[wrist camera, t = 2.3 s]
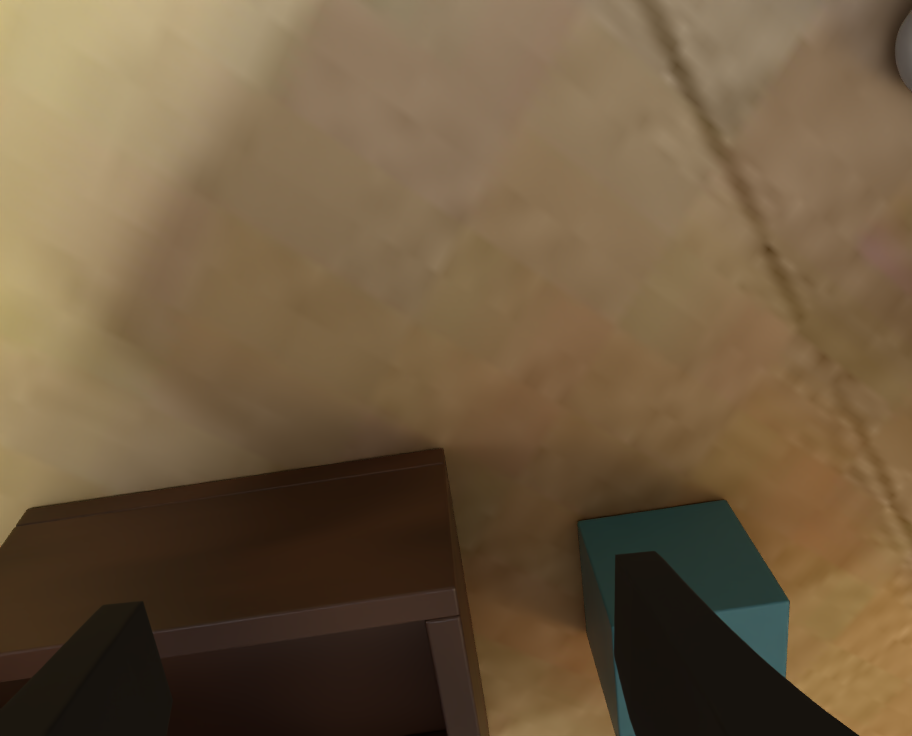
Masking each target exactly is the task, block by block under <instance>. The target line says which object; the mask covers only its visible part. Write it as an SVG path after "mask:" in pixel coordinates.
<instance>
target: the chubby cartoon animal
mask: <svg viewBox="0 0 912 736" xmlns="http://www.w3.org/2000/svg"><path fill="white" fill-rule="evenodd" d="M895 60H896V65H897V68H898V71H899V74H900V76H901V78H902V80H903V82H904V83H905V85H906V86H907V87H908V88H909V90H910V91H911V92H912V10H911V11H910V12H909V14H908V15H907V16H906V18H905V20H904V21H903V23H902V25H901V27H900V29H899V32H898V34H897V38H896V43H895Z"/></svg>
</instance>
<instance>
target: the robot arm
mask: <svg viewBox="0 0 912 736" xmlns="http://www.w3.org/2000/svg"><path fill="white" fill-rule="evenodd" d="M614 658H615V662H616V666H617V670H618V675H619V679H620V683H621V687H622V691H623V695H624V699H625V703H626V707H627V711H628V715H629V719H630V722H631V724H632V727H633V730H634V733H635V735H636V736H859V735H857V734H856V733H855V732H853V731H852V730H851V729H849V728H848V727H847V726H845V725H844V724H843V723H841V722H840V721H838V720H837V719H836V718H834V717H833V716H832V715H830V714H829V713H828V712H826V711H825V710H824V709H822V708H821V707H820V706H819V705H817V704H816V703H815V702H814V701H812V700H811V699H810V698H809V697H807V696H806V695H805V694H804V693H802V692H801V691H800V690H799V689H798V688H796V687H795V686H794V685H793V684H792V683H791V682H789V681H788V680H787V679H786V678H785V677H784V676H782V675H781V674H780V673H779V672H778V671H776V670H775V669H774V668H773V667H772V666H771V665H770V664H768V663H767V662H766V661H765V660H764V659H763V658H762V657H761V656H760V655H758V654H757V653H756V652H755V651H754V650H753V649H752V648H751V647H750V646H749V645H748V644H747V643H746V642H745V641H743V640H742V639H741V638H740V637H739V636H738V635H737V634H736V633H735V632H734V631H733V630H732V629H731V628H730V627H729V626H728V625H727V624H726V623H725V622H724V621H723V620H722V619H720V618H719V617H718V616H717V615H716V614H715V613H714V612H713V611H712V610H711V609H710V607H709V606H708V605H707V604H706V603H705V602H704V601H703V600H702V599H701V598H700V597H699V596H698V595H697V594H696V593H695V592H694V591H693V590H692V589H691V588H690V587H689V586H688V585H687V584H686V583H685V581H684V580H683V579H682V578H681V577H680V576H679V575H678V574H677V573H676V572H675V571H674V570H673V569H672V567H671V566H670V565H669V564H668V563H667V562H666V561H665V560H664V559H663V558H662V557H661V556H660V555H659V554H658V553H657V552H656V551H647V552H637V553H627V554H617V555H615V612H614ZM172 703H173V698H172V695H171V692H170V688H169V685H168V682H167V678H166V675H165V672H164V668H163V665H162V662H161V659H160V655H159V652H158V649H157V645H156V642H155V639H154V635H153V632H152V629H151V625H150V622H149V619H148V615H147V612H146V609H145V606H144V602H143V601H136V602H126V603H116V604H105V605H102V606H101V607H100V608H99V609H98V610H97V611H96V612H95V613H94V614H93V615H92V616H91V617H90V618H89V619H88V620H87V621H86V622H85V623H84V624H83V625H82V626H81V627H80V628H79V629H78V630H77V631H76V632H75V633H74V634H73V635H72V636H71V637H70V638H69V640H68V641H67V642H66V643H65V644H64V645H63V646H62V647H61V648H60V649H59V650H58V651H57V652H56V653H55V654H54V655H53V656H52V657H51V658H50V659H49V660H48V661H47V662H46V664H45V665H44V666H43V667H42V668H41V669H40V670H39V671H38V672H37V673H36V674H35V675H34V676H33V677H32V678H31V679H30V680H29V681H28V682H27V683H26V684H25V685H24V686H23V687H22V688H21V689H20V690H19V691H18V692H17V693H16V694H15V695H14V696H13V697H12V698H11V699H10V700H9V701H8V702H7V703H6V704H5V705H4V706H3V707H2V708H1V709H0V736H167V730H168V725H169V719H170V714H171V708H172Z"/></svg>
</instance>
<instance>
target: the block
mask: <svg viewBox="0 0 912 736" xmlns="http://www.w3.org/2000/svg"><path fill="white" fill-rule="evenodd" d="M577 526H578V537H579V549H580V561H581V573H582V584H583V596H584V608H585V620H586V631H587V637H588V640H589V644H590V647H591V651H592V654H593V658H594V661H595V665H596V668H597V672H598V675H599V679H600V682H601V686H602V689H603V693H604V696H605V700H606V703H607V707H608V710H609V714H610V717H611V721H612V724H613V728H614V731H615V735H616V736H636V735H635V733H634V730H633V727H632V724H631V722H630V719H629V715H628V711H627V707H626V703H625V699H624V695H623V691H622V687H621V683H620V679H619V675H618V670H617V666H616V662H615V658H614V612H615V555H617V554H627V553H637V552H647V551H656V552H657V553H658V554H659V555H660V556H661V557H662V558H663V559H664V560H665V561H666V562H667V563H668V564H669V565H670V566H671V567H672V569H673V570H674V571H675V572H676V573H677V574H678V575H679V576H680V577H681V578H682V579H683V580H684V581H685V583H686V584H687V585H688V586H689V587H690V588H691V589H692V590H693V591H694V592H695V593H696V594H697V595H698V596H699V597H700V598H701V599H702V600H703V601H704V602H705V603H706V604H707V605H708V606H709V607H710V609H711V610H712V611H713V612H714V613H715V614H716V615H717V616H718V617H719V618H720V619H722V620H723V621H724V622H725V623H726V624H727V625H728V626H729V627H730V628H731V629H732V630H733V631H734V632H735V633H736V634H737V635H738V636H739V637H740V638H741V639H742V640H743V641H745V642H746V643H747V644H748V645H749V646H750V647H751V648H752V649H753V650H754V651H755V652H756V653H757V654H758V655H760V656H761V657H762V658H763V659H764V660H765V661H766V662H767V663H768V664H770V665H771V666H772V667H773V668H774V669H775V670H776V671H778V672H779V673H780V674H781V675H782V676H784V677H785V678H786V661H787V643H788V624H789V605H790V601H789V599H788V598H787V596H786V595H785V593H784V591H783V590H782V588H781V587H780V585H779V584H778V582H777V580H776V579H775V577H774V576H773V574H772V572H771V571H770V569H769V568H768V566H767V564H766V563H765V561H764V560H763V558H762V557H761V555H760V553H759V552H758V550H757V549H756V547H755V545H754V544H753V542H752V541H751V539H750V537H749V536H748V534H747V533H746V531H745V530H744V528H743V526H742V525H741V523H740V522H739V520H738V518H737V517H736V515H735V514H734V512H733V510H732V509H731V507H730V506H729V504H728V503H727V501H726V500H719V501H712V502H705V503H699V504H692V505H685V506H678V507H671V508H665V509H658V510H651V511H644V512H637V513H631V514H624V515H617V516H610V517H603V518H597V519H590V520H583V521H578V523H577Z"/></svg>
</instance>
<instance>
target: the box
mask: <svg viewBox="0 0 912 736" xmlns="http://www.w3.org/2000/svg"><path fill="white" fill-rule="evenodd" d="M136 601H143V602H144V606H145V609H146V612H147V615H148V619H149V622H150V625H151V629H152V632H153V635H154V639H155V642H156V645H157V649H158V652H159V655H160V659H161V662H162V665H163V668H164V672H165V675H166V678H167V682H168V685H169V688H170V692H171V695H172V698H173V703H172V708H171V714H170V719H169V725H168V730H167V736H489V727H488V719H487V713H486V707H485V701H484V695H483V689H482V683H481V677H480V670H479V664H478V658H477V652H476V646H475V640H474V634H473V628H472V622H471V615H470V609H469V603H468V597H467V591H466V585H465V579H464V573H463V566H462V560H461V554H460V548H459V542H458V536H457V530H456V524H455V518H454V511H453V505H452V499H451V493H450V487H449V481H448V475H447V469H446V463H445V456H444V450H443V449H442V448H440V449H433V450H426V451H420V452H413V453H406V454H399V455H392V456H386V457H379V458H372V459H365V460H358V461H352V462H345V463H338V464H331V465H324V466H318V467H311V468H304V469H297V470H291V471H284V472H277V473H270V474H263V475H257V476H250V477H243V478H236V479H229V480H223V481H216V482H209V483H202V484H195V485H189V486H182V487H175V488H168V489H161V490H155V491H148V492H141V493H134V494H127V495H121V496H114V497H107V498H100V499H93V500H87V501H80V502H73V503H66V504H60V505H53V506H46V507H39V508H32V509H28V510H26V512H25V513H24V515H23V516H22V517H21V519H20V520H19V522H18V523H17V525H16V527H15V528H14V529H13V530H12V532H11V533H10V535H9V536H8V538H7V539H6V540H5V542H4V543H3V545H2V546H1V547H0V709H1V708H2V707H3V706H4V705H5V704H6V703H7V702H8V701H9V700H10V699H11V698H12V697H13V696H14V695H15V694H16V693H17V692H18V691H19V690H20V689H21V688H22V687H23V686H24V685H25V684H26V683H27V682H28V681H29V680H30V679H31V678H32V677H33V676H34V675H35V674H36V673H37V672H38V671H39V670H40V669H41V668H42V667H43V666H44V665H45V664H46V662H47V661H48V660H49V659H50V658H51V657H52V656H53V655H54V654H55V653H56V652H57V651H58V650H59V649H60V648H61V647H62V646H63V645H64V644H65V643H66V642H67V641H68V640H69V638H70V637H71V636H72V635H73V634H74V633H75V632H76V631H77V630H78V629H79V628H80V627H81V626H82V625H83V624H84V623H85V622H86V621H87V620H88V619H89V618H90V617H91V616H92V615H93V614H94V613H95V612H96V611H97V610H98V609H99V608H100V607H101V606H102V605H105V604H116V603H126V602H136Z"/></svg>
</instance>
